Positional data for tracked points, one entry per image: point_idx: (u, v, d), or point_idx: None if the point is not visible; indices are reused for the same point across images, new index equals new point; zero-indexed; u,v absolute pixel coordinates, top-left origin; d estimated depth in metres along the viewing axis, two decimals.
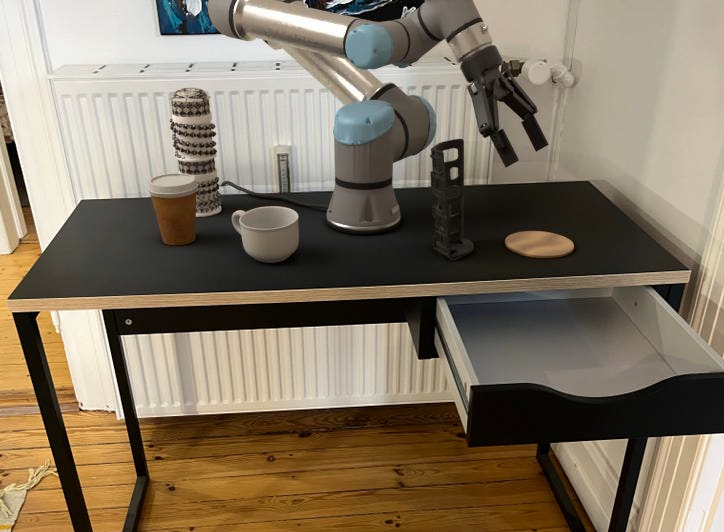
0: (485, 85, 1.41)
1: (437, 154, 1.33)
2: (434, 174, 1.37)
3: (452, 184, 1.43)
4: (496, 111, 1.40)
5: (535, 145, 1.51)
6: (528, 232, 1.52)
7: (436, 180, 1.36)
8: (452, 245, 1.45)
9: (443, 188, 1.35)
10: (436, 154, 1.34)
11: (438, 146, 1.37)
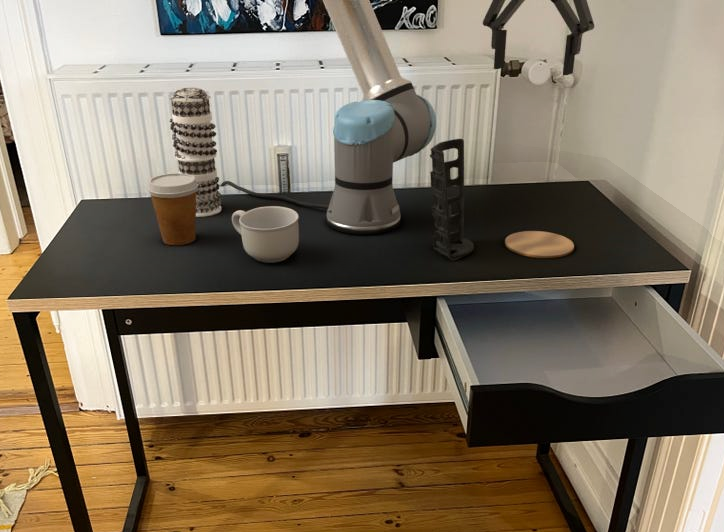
0: None
1: (437, 154, 1.33)
2: (434, 174, 1.37)
3: (452, 184, 1.43)
4: None
5: (499, 62, 1.41)
6: (528, 232, 1.52)
7: (436, 180, 1.36)
8: (452, 245, 1.45)
9: (443, 188, 1.35)
10: (436, 154, 1.34)
11: (438, 146, 1.37)
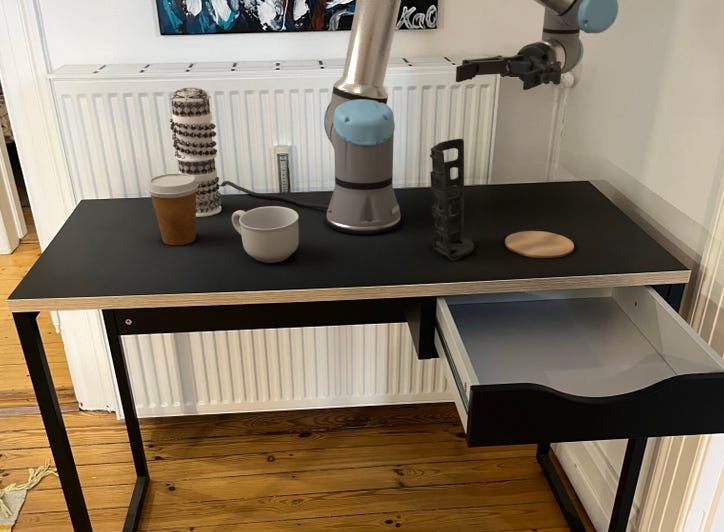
0: None
1: (437, 154, 1.33)
2: (434, 174, 1.37)
3: (452, 184, 1.43)
4: None
5: (462, 69, 1.42)
6: (528, 232, 1.52)
7: (436, 180, 1.36)
8: (452, 245, 1.45)
9: (443, 188, 1.35)
10: (436, 154, 1.34)
11: (438, 146, 1.37)
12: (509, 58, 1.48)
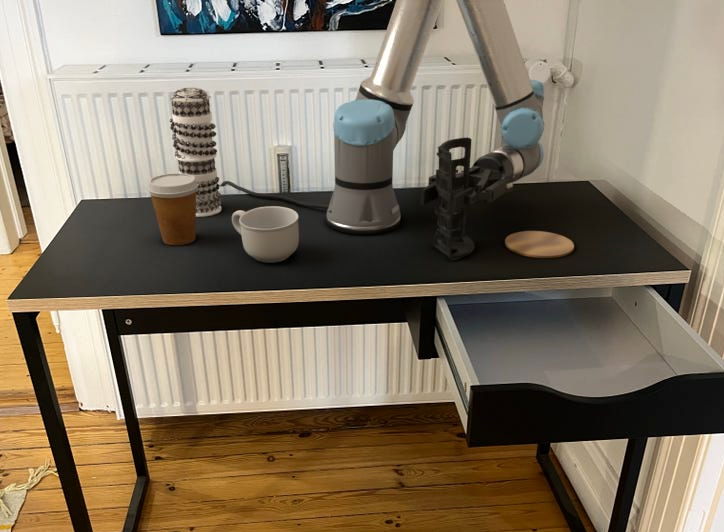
0: None
1: (444, 154, 1.32)
2: (440, 173, 1.36)
3: (457, 182, 1.42)
4: None
5: (427, 191, 1.38)
6: (528, 232, 1.52)
7: (442, 179, 1.35)
8: (453, 243, 1.45)
9: (448, 188, 1.34)
10: (443, 154, 1.33)
11: (446, 144, 1.36)
12: (469, 172, 1.46)
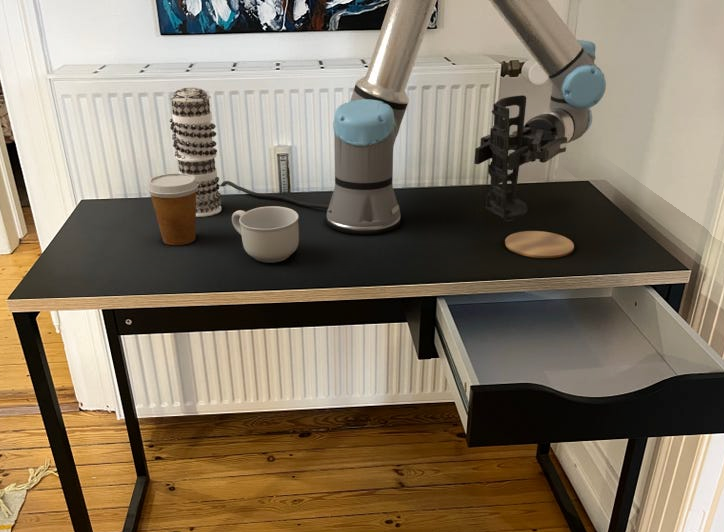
0: None
1: (501, 110, 1.30)
2: (495, 131, 1.34)
3: (510, 142, 1.39)
4: None
5: (482, 150, 1.35)
6: (528, 232, 1.52)
7: (497, 137, 1.33)
8: None
9: (504, 146, 1.31)
10: (500, 110, 1.30)
11: (501, 102, 1.33)
12: None
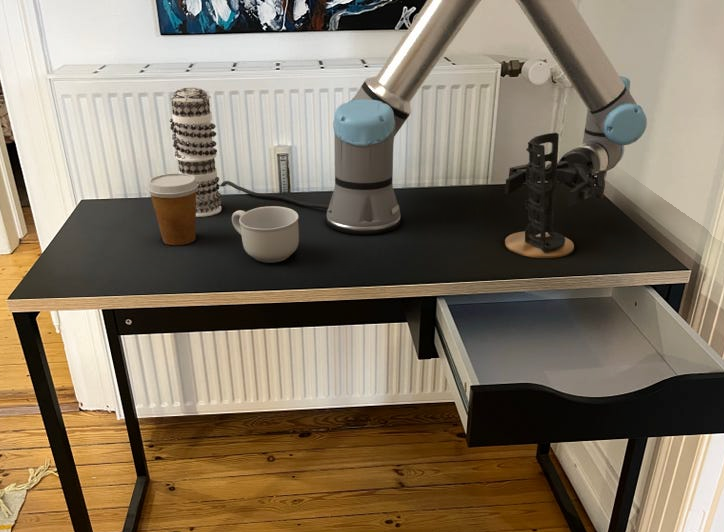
0: None
1: (536, 148, 1.35)
2: (531, 168, 1.39)
3: (545, 178, 1.44)
4: None
5: (512, 181, 1.42)
6: None
7: (533, 173, 1.38)
8: None
9: (541, 181, 1.36)
10: (535, 148, 1.35)
11: (535, 140, 1.39)
12: None
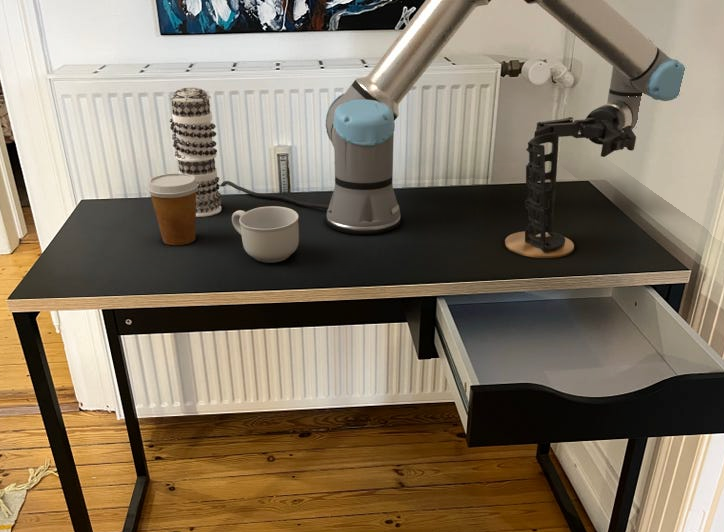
0: None
1: (536, 148, 1.35)
2: (531, 168, 1.39)
3: (545, 178, 1.44)
4: None
5: (540, 133, 1.50)
6: None
7: (533, 173, 1.38)
8: None
9: (541, 181, 1.36)
10: (535, 148, 1.35)
11: (535, 140, 1.39)
12: (582, 121, 1.55)
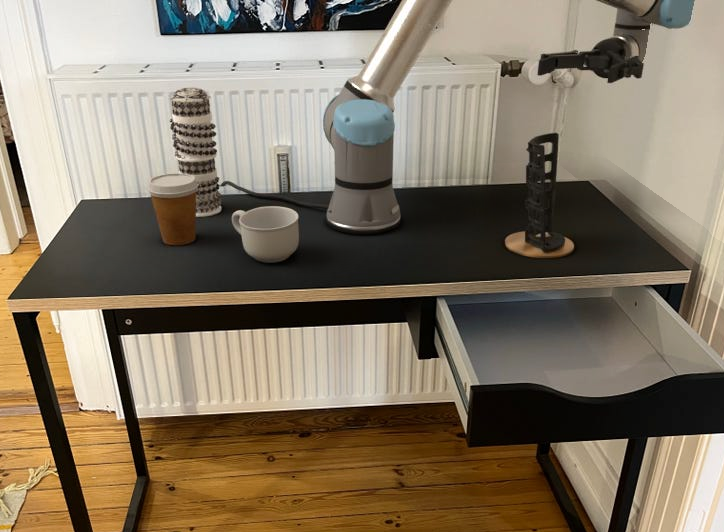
0: None
1: (536, 148, 1.35)
2: (531, 168, 1.39)
3: (545, 178, 1.44)
4: None
5: (544, 62, 1.45)
6: None
7: (533, 173, 1.38)
8: None
9: (541, 181, 1.36)
10: (535, 148, 1.35)
11: (535, 140, 1.39)
12: (587, 52, 1.51)
